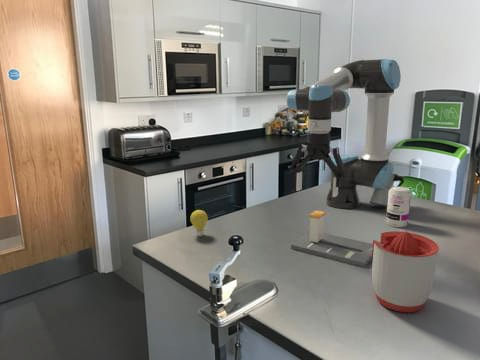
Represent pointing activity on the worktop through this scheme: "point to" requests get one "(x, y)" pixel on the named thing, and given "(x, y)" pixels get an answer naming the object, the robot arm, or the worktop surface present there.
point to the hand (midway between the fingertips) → (316, 193)
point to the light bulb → (199, 221)
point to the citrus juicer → (403, 270)
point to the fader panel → (336, 248)
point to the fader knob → (316, 226)
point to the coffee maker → (384, 191)
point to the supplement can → (398, 206)
